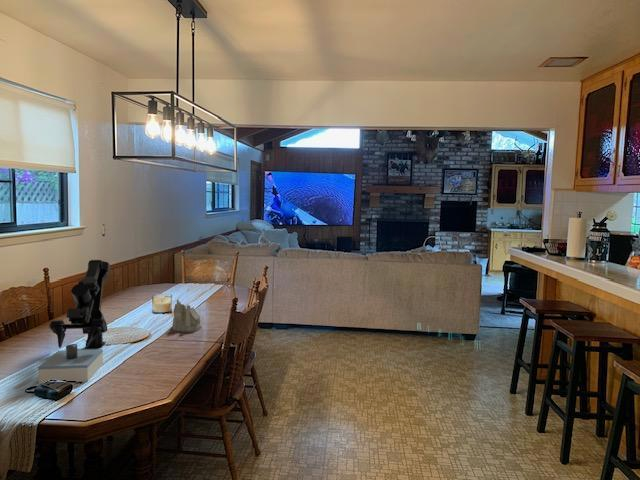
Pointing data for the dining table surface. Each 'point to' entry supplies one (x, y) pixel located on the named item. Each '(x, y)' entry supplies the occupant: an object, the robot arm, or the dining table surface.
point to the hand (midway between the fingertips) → (72, 346)
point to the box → (71, 372)
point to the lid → (71, 358)
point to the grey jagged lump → (185, 318)
